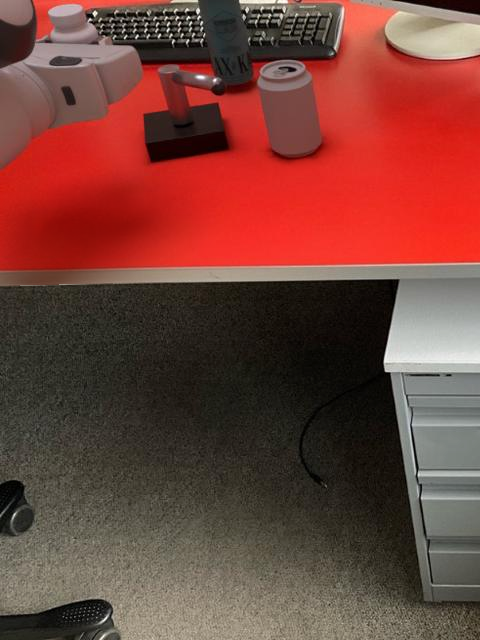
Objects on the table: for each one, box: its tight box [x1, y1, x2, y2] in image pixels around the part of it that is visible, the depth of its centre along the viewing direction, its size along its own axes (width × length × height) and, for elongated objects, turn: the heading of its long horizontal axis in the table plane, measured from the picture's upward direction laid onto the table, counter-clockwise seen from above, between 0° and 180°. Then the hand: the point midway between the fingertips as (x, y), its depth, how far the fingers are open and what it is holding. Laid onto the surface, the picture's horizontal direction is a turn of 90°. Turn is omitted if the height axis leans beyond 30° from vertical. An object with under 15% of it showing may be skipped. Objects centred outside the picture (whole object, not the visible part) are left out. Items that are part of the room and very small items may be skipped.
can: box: [256, 59, 323, 158], centre depth 126 cm, size 8×8×12 cm
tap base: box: [142, 102, 230, 163], centre depth 131 cm, size 11×10×3 cm
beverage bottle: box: [197, 0, 255, 86], centre depth 140 cm, size 6×7×20 cm
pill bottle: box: [47, 3, 100, 45], centre depth 110 cm, size 6×5×10 cm
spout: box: [157, 64, 228, 125], centre depth 126 cm, size 3×11×8 cm, turn 66°
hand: (81, 41), depth 110 cm, fingers closed on pill bottle, 5 cm apart
